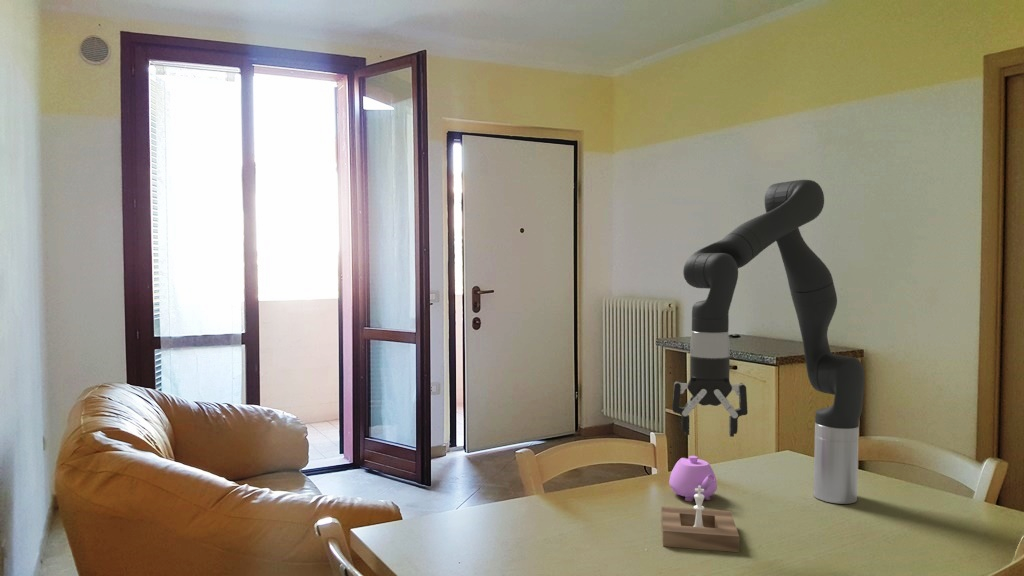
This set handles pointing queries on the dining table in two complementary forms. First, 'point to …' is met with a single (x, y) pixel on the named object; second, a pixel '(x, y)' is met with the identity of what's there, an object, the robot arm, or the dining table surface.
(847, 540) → the dining table surface
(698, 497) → the chess piece
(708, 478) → the teapot
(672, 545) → the socket block
